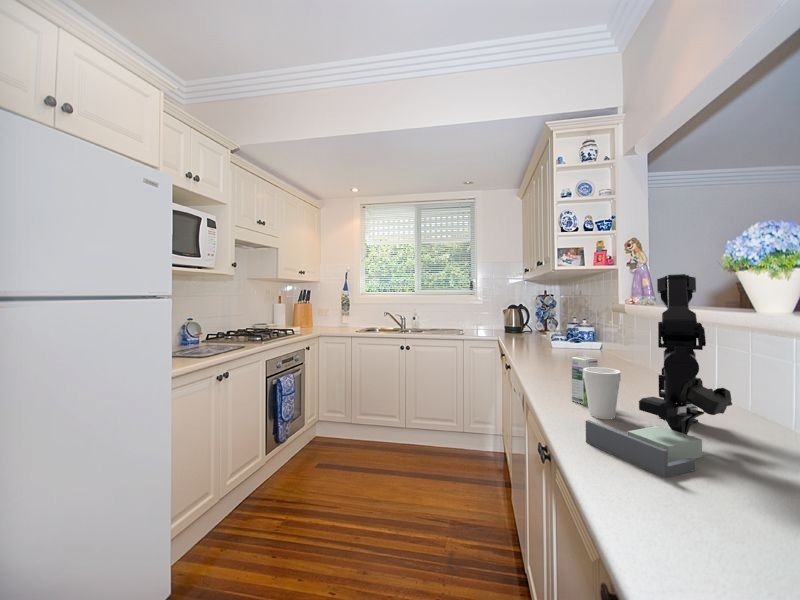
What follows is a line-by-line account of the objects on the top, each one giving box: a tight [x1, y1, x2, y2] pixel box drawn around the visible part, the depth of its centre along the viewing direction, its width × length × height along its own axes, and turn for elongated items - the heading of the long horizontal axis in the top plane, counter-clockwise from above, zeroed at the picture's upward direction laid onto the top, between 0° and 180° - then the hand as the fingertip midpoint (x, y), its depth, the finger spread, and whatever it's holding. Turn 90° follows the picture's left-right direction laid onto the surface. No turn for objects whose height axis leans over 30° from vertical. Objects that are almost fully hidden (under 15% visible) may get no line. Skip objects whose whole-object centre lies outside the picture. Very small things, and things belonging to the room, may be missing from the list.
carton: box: [627, 425, 703, 463], centre depth 78 cm, size 10×9×4 cm
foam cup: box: [583, 366, 622, 420], centre depth 102 cm, size 10×9×13 cm
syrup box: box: [570, 356, 599, 406], centre depth 115 cm, size 6×6×14 cm
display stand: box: [585, 419, 696, 479], centre depth 76 cm, size 8×18×5 cm, turn 18°
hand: (680, 441), depth 80 cm, fingers closed
